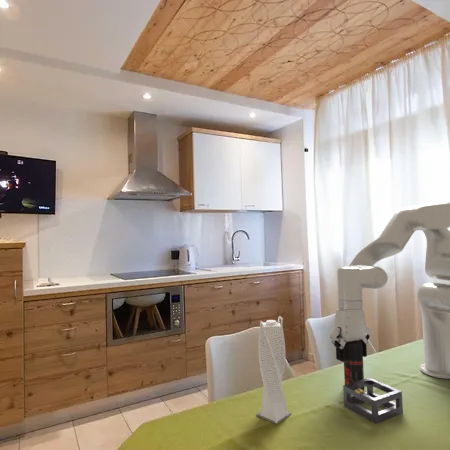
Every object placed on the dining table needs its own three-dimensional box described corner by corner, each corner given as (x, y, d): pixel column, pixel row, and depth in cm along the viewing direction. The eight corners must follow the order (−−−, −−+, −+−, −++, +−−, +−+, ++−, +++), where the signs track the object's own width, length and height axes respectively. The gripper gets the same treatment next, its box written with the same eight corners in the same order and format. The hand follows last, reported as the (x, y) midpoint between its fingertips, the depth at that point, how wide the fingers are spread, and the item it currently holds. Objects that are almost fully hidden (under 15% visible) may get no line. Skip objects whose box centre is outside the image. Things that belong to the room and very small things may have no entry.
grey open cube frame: (370, 397, 104) (369, 375, 104) (402, 413, 94) (401, 389, 94) (343, 406, 99) (342, 383, 99) (375, 424, 89) (374, 398, 89)
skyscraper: (295, 416, 94) (292, 314, 96) (278, 428, 89) (274, 320, 90) (271, 406, 100) (268, 310, 101) (253, 417, 95) (250, 315, 96)
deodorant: (366, 393, 106) (363, 345, 107) (346, 392, 108) (344, 344, 108) (362, 385, 112) (360, 339, 113) (343, 384, 113) (341, 339, 114)
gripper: (359, 300, 118) (361, 350, 117) (321, 305, 110) (323, 358, 110) (378, 304, 112) (379, 357, 111) (339, 309, 104) (340, 366, 103)
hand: (351, 357), depth 110 cm, fingers open, 9 cm apart
